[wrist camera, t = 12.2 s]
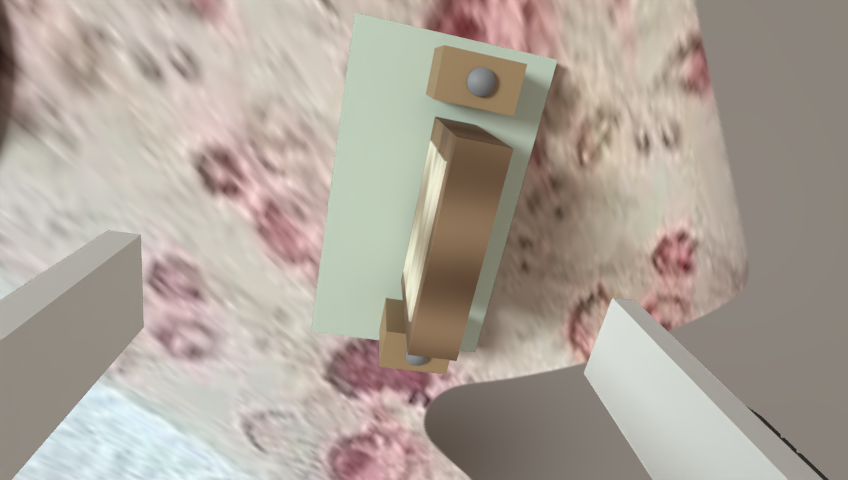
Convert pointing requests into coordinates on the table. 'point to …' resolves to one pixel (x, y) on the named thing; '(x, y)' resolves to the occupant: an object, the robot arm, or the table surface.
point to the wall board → (413, 169)
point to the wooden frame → (450, 234)
